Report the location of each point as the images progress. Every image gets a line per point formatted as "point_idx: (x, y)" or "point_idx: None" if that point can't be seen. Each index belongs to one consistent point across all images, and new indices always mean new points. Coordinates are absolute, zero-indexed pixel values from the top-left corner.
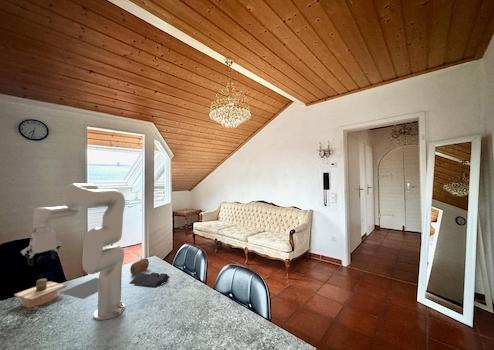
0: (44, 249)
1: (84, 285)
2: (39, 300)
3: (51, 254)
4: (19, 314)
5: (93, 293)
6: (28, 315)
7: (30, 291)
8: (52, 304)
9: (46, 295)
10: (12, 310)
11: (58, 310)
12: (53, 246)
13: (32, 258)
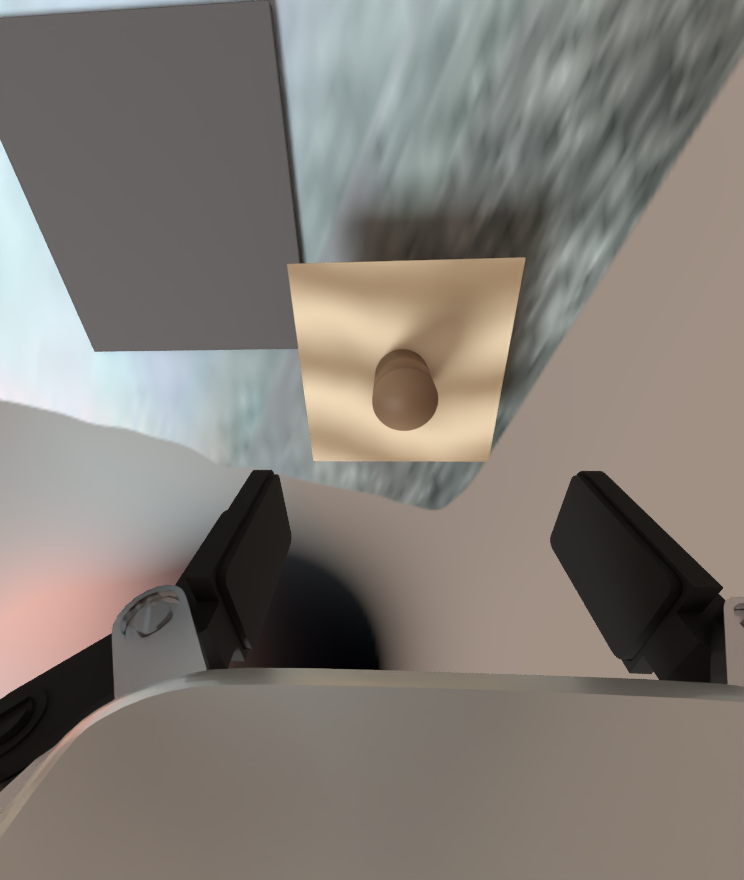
0: (585, 801)
1: (180, 296)
2: None
3: (269, 590)
4: (531, 289)
5: (175, 19)
6: (533, 211)
7: (440, 413)
8: (403, 219)
9: None
10: (506, 381)
11: (444, 33)
12: (121, 859)
13: (696, 570)
